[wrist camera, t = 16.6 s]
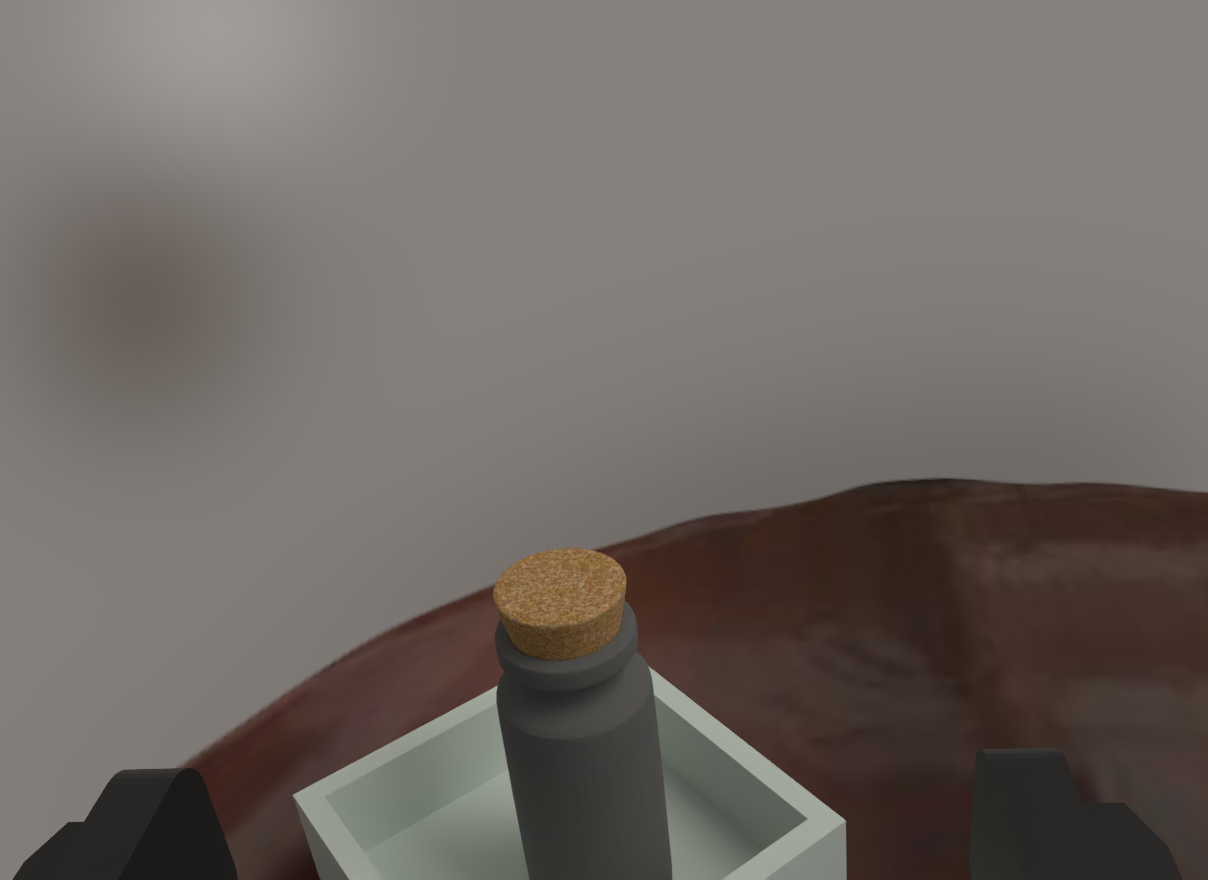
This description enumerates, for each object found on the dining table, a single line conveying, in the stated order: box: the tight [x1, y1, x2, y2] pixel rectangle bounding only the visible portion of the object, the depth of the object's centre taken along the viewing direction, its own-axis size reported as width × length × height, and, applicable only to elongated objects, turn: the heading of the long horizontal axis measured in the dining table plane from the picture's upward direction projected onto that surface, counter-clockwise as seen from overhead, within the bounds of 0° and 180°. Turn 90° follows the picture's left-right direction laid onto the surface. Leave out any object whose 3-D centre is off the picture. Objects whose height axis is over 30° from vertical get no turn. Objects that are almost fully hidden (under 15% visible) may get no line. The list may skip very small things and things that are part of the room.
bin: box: [293, 666, 846, 880], centre depth 47 cm, size 16×16×5 cm
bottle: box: [493, 548, 672, 880], centre depth 43 cm, size 6×6×15 cm
